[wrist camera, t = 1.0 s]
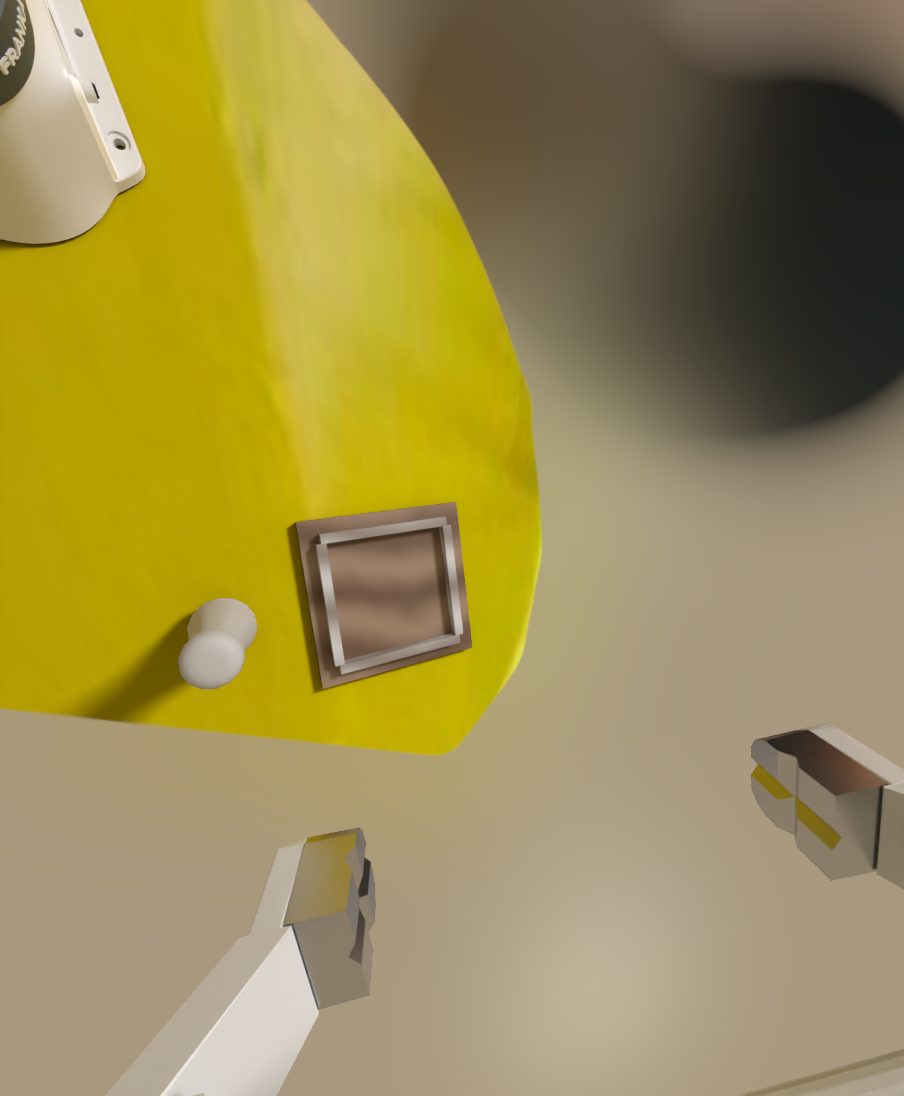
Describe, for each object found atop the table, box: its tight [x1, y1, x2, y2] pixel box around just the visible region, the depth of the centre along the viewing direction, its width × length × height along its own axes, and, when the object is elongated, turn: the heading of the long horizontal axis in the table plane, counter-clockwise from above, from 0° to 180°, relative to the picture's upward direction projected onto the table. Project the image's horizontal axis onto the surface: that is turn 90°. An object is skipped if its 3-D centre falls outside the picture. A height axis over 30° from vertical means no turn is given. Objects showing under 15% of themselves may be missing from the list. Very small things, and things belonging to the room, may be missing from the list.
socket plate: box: [295, 502, 472, 689], centre depth 48 cm, size 18×18×2 cm
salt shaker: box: [178, 598, 257, 689], centre depth 37 cm, size 6×6×13 cm
